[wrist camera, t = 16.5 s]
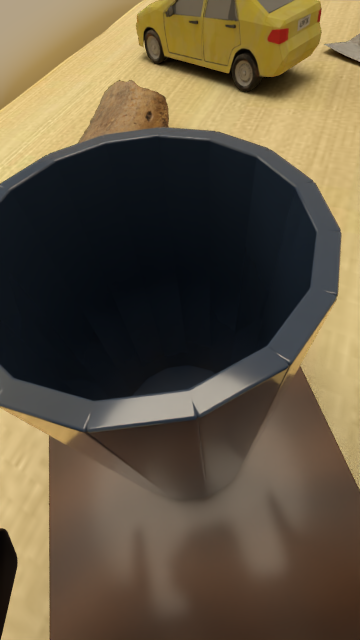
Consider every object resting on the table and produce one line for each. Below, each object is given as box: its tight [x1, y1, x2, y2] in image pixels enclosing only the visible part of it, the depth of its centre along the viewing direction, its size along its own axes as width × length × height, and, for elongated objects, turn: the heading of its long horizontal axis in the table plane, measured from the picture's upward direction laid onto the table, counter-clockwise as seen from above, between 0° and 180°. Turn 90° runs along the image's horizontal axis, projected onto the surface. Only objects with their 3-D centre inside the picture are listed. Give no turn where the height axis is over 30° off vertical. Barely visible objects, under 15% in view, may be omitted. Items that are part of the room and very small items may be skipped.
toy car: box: [136, 0, 322, 92], centre depth 45 cm, size 12×28×10 cm, turn 46°
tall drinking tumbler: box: [0, 127, 341, 501], centre depth 11 cm, size 7×7×13 cm
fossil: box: [77, 80, 169, 144], centre depth 35 cm, size 22×6×10 cm
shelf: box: [49, 366, 360, 640], centre depth 16 cm, size 20×14×4 cm
